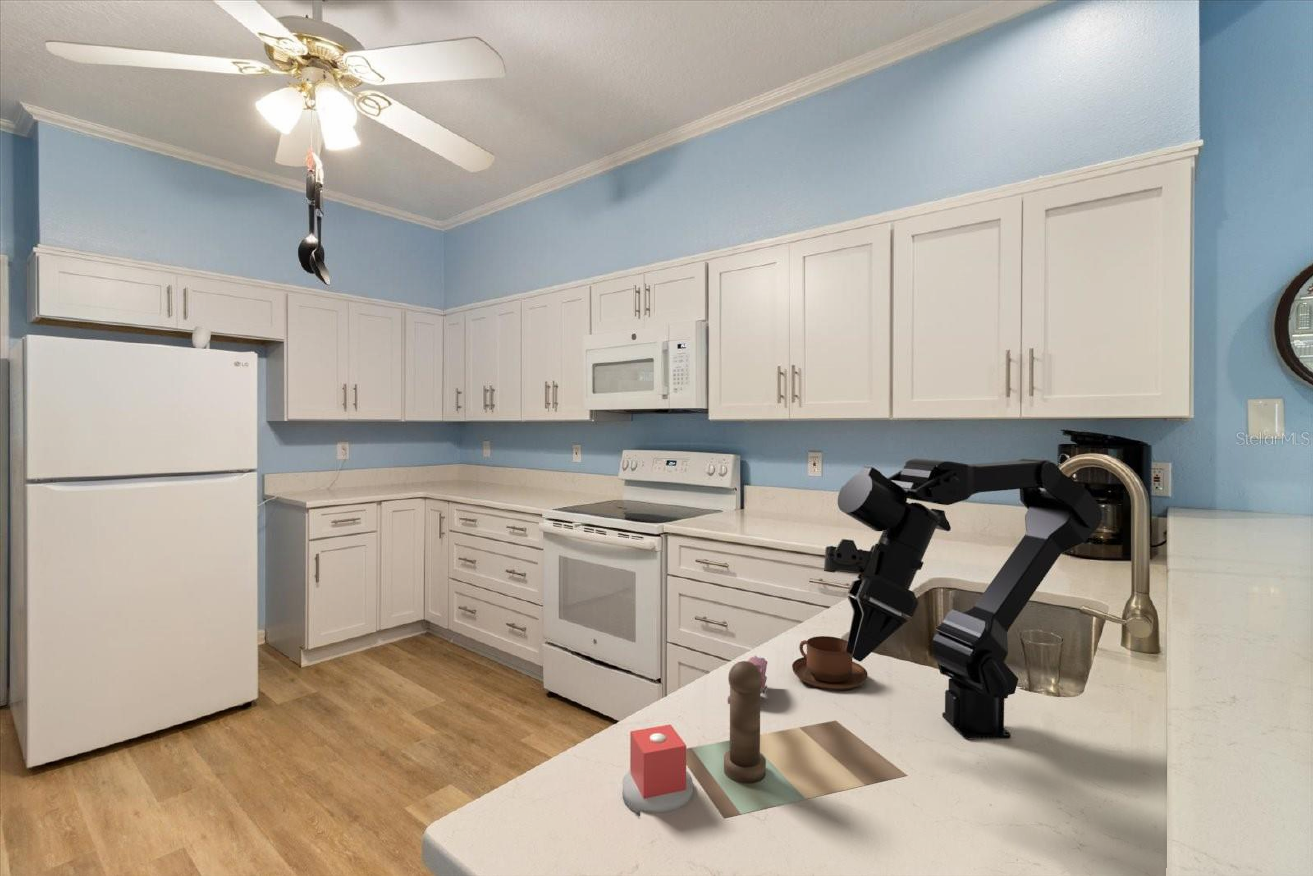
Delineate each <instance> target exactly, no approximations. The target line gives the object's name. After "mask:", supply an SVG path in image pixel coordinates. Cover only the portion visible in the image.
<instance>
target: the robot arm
mask: <svg viewBox="0 0 1313 876" xmlns="http://www.w3.org/2000/svg"><path fill="white" fill-rule="evenodd" d="M1041 489H1044V490H1041ZM1010 490H1012V491H1013V490H1019V500H1020V502H1021V503H1022V505H1023V506H1024V507H1025V508H1026V510H1027V511H1026V513H1025V514H1024V521H1025V533H1024V536H1023V537H1022V538H1021V540H1020V541H1019V542H1018V544H1017V545H1016V547H1015V548H1014V549H1013V550H1012V552H1011V554H1010V555H1009V556H1008V558H1007V559H1006V561H1005V562H1004V564H1003V565H1002V567H1001V568H1000V569H999V571H998V572H997V574H996V575H995V576H994V578H993V579H992V580H991V581H990V583H989V585H988V587H987V588H986V589H985V590H984V592H983V593H982V594H981V596H980V597H979V598H978V600H977V602H976V603H975V604H974V606H973V607H972V608H971V609H969V610H966V611H964V612H962V611H959V610H957V609H954V608H952V609H950V610H949V611H948V612H947V613H946V616H945V618H944V619H943V621H942V622H941V623H940V624H939V625H938V626H937V627H935V628H934V631H935V632H936V634H935V635H934V637H933V638H932V641H931V646H932V654H933V657H934V658H933V659H934V660H935V661H936V663H937V666H938V670H939V673H940V674H941V675H942V676H945V677H948V687H947V689H945V692H944V711H943V712H942V715H941V716H942V718H944V720H945V721H946V722H947V723H948V724H950V726H951V727H952V728H953V729H954V730H955V731H956V732H957V733H958V734H959V735H961V737H963V738H965V739H1011V738H1012V734H1011V732H1009V730H1008V729H1006V728H1005V699H1009V696H1010V695H1014V694H1016V689H1017V688H1018V687H1017V686H1018V682H1019V678H1018V676H1017V675H1016V674H1015V673H1014V672H1013V671H1012V670H1011V669H1010V667H1009V666H1008V665H1007V664H1006V663H1005V660H1006V659H1007V656H1008V654H1009V648H1008V647H1009V646H1008V645H1009V643H1008V642H1009V641H1008V632H1009V629H1010V628H1011V626H1012V625H1013V624H1014V622H1015V621H1016V619H1017V618H1018V617H1019V615H1020V614H1021V612H1022V611H1023V610H1024V608H1025V606H1026V605H1027V604H1028V602H1029V601H1030V599H1031V598H1032V596H1033V595H1034V593H1035V592H1036V590H1037V589H1038V587H1039V586H1040V585H1041V583H1042V581H1044V579H1045V578H1046V576H1047V575H1048V573H1049V571H1050V570H1051V569H1052V567H1053V566H1054V565H1055V563H1056V562H1057V560H1058V559H1059V557H1060V556H1061V554H1063V553H1065V552H1067V551H1069V550H1071V549H1073V548H1075V547H1078V546H1081V545H1082V544H1084V543H1085V542H1086V541H1087V540H1088V539H1089V538H1090V537H1091V536H1092V534H1094V533H1095V532H1096V531H1097V530H1098V528H1099V526H1100V524H1101V522H1102V520H1103V510H1102V508H1101V505H1100V504H1099V503H1098V501H1097V499H1095V497H1093V496H1092V494H1091V493H1090V492H1089V490H1088V489H1087V488H1086V487H1084V486H1083V485H1081V484H1080V483H1078V482H1076V481H1075V480H1074V479H1073V478H1070V477H1069V476H1067V475H1066V474H1065V473H1063V471H1062V470H1061V469H1060V468H1059V466H1058V465H1057V464H1056V463H1054V462H1051V461H1050V460H1048V459H1035V458H1034V459H1033V458H1020V459H1018V460H1011V461H1010V460H1009V461H995V462H984V463H983V462H981V463H978V462H977V463H968V464H967V463H962V462H956V461H947V460H937V459H936V460H935V459H923V458H913V459H910V460H907V461H906V462H905V465H904V466H903V468H902V469H901V470H900V471H898V472H896V473H895V474H892V475H891V476H889V477H886V476H885V475H883V473H882V472H881V471H879V470H878V469H877V468H875V467H873V466H872V467H871V466H862V467H861V469H860V471H859V473H858V474H855V475H854V476H852V477H851V478H849V479H848V480H847V482H846V483H845V485H843V486H842V487H841V488H840V490H839V493H838V495H837V507H838V510H839V511H841V512H842V513H844V514H846V515H847V516H849V517H851V518H852V519H853V520H856V521H858V522H859V523H861V524H862V525H864V526H866V527H867V528H869V529H871V530H873V531H874V532H881V535H880V537H879V538H878V541H877V542H876V543H875V544H874V545H872V546H871V547H870V550H864V549H860V548H859V549H858V547H857V545H856V543H855V541H854V540H853V539H845V538H842V539H841V540H840V541H839V543H838V544H837V546H834V545H830V546H826V547H825V552H824V566H823V569H824V570H823V571H824V572H827V573H836V572H837V573H839V572H840V573H846V574H853V575H857V579H856V580H854V581H851V582H852V583H851V584H850V587H849V589H848V591H847V594H848V595H847V599H848V601H849V603H850V606H851V609H852V619H851V623H850V628H849V633H848V637H847V641H848V642H847V647H846V651H847V652H848V653H850V654H852V659H853V660H855V661H857V662H860V663H861V662H863V661H864V660H865V659H866V658H867V657H868V656H869V655H871V654H872V653H873V652H874V651H875V650H876V649H877V648H878V647H879V646H880V645H881V644H882V643H884V642H885V641H886V640H887V639H888V638H890V636H892V635H893V634H894V633H895V632H896V631H897V630H899V628H901V627H903V625H904V624H906V623H907V622H908V619H907V618H913V617H914V615H915V611H916V610H917V608H918V606H919V601H918V599H917V597H916V595H915V592H914V591H912V590H910V588H911V585H912V583H913V581H914V578H915V576H916V575H917V572H918V571H920V570H922V568H923V565H924V561H923V559H924V556H925V554H926V552H927V549H928V547H929V545H930V543H931V540H932V538H933V536H934V533H935V531H936V530H941V531H945V532H950V531H951V530H952V529H951V523H950V522H949V520H948V519H947V515H946V512H945V510H943V509H937V508H930V509H929V508H928V507H927V506H925V505H924V504H923V503H920V502H925V503H931V504H937V505H942V506H950V505H955V504H957V503H960V502H964V501H967V500H968V499H970V498H971V496H973V495H975V494H979V493H987V492H988V493H989V492H990V493H991V492H998V491H999V492H1000V491H1010ZM908 499H909V500H912V501H917V502H907V501H908ZM902 615H903V616H905V617H907V618H905V617H903V616H902Z"/></svg>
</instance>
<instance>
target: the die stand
mask: <svg viewBox="0 0 1313 876" xmlns="http://www.w3.org/2000/svg"><path fill="white" fill-rule="evenodd" d="M629 733H630V736H629V738H630V739H629V740H630V743H629V744H630V745H629V747H630V751H629V753H630V756H629V757H630V758H629V759H630V760H629V763H630V765H629V766H630V767H629V770H628V771H627V772H626V773H625V774H624V776H623V779H622V800H623V803H624V805H626V807H627V808H628V809H629V810H631V811H632V812H634V813H635V814H637V815H641V811H645V812H649V813H666V812H671V811H676V810H678V809H680V808H682V807H683V806H684V805H686V804H687V803H688V802H689V801H690V800H691V798H692V796H693V790H694V789H693V788H694V783H693V778H692V776H691V774H690V773H689V772H688V771H687V765H686V748H687V745H686V743H685V741H684V740H683V739H682V738H681V736H680V735H679V734H678V733H677V730H675V728H674V727H673V725H672V724H666V725H659V726H654V727H648V728H642V729H635V730H631V731H630V732H629Z"/></svg>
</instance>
